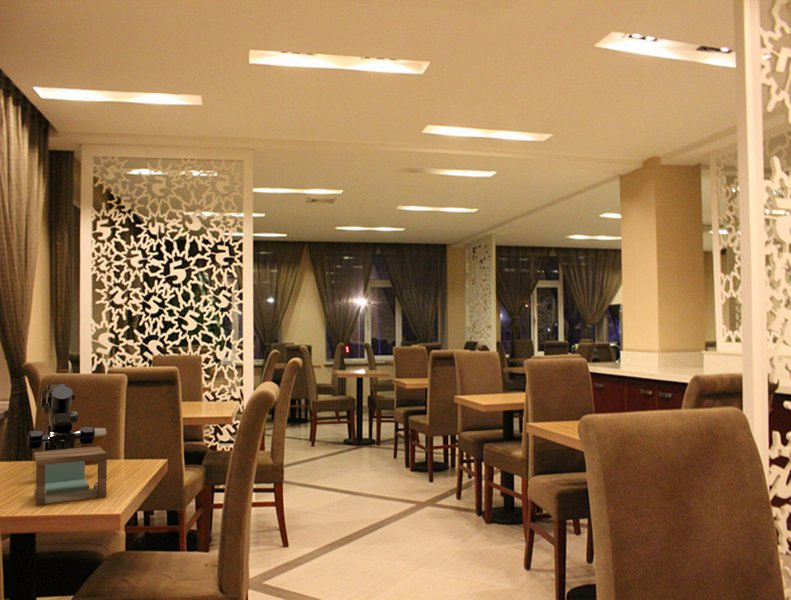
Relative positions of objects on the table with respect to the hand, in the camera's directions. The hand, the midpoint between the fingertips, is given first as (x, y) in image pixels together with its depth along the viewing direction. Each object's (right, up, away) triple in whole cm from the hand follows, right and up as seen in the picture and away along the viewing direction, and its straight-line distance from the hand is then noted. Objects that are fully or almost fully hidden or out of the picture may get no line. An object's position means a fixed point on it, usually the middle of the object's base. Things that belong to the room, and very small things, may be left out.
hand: (63, 459), depth 205 cm
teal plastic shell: (+6, -6, -10) cm, 13 cm away
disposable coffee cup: (-6, -10, +33) cm, 35 cm away
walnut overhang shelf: (+12, -5, -20) cm, 24 cm away
